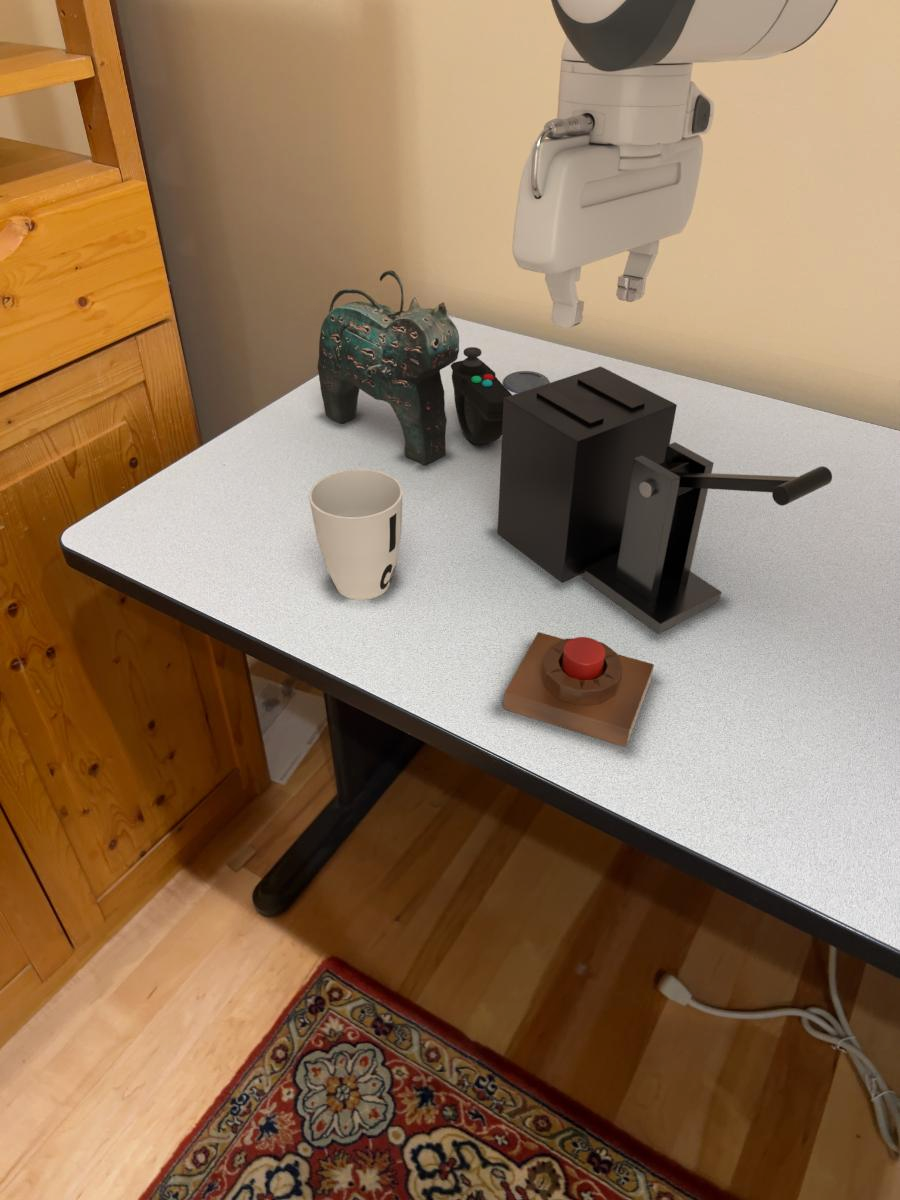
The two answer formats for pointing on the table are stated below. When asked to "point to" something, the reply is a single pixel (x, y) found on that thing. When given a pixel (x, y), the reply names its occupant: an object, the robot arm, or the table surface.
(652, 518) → the toaster bracket
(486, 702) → the table surface
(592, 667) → the button
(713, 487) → the toaster lever
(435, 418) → the ceramic cat
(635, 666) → the control block
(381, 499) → the cup
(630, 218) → the robot arm
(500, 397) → the controller
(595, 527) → the toaster
